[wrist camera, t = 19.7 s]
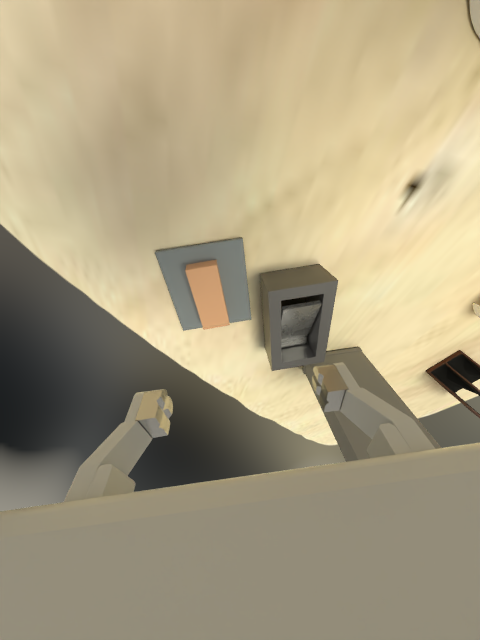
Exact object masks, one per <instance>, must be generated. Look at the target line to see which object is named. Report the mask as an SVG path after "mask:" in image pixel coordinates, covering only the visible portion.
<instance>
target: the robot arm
mask: <svg viewBox="0 0 480 640" xmlns="http://www.w3.org/2000/svg"><path fill="white" fill-rule="evenodd" d="M469 1H470V14H471V20H472V24H473V27H474V30H475V32H476V34H477V35H478V37H479V38H480V0H469ZM313 372H314V375H313V376H312V383H313V387H314V390H315V393H316V394H317V395H319V396H320V397H319V402H320V404H321V407H322V409H323V411H324V412H331V411H339V410H340V412H342V413H343V414H344V415H345V416H346V417H347V418H348V419H349V420H351V421H352V422H353V423H354V424H355V425H356V426H357V427H359V428H360V429H361V430H362V431H363V432H364V433H365V434H366V435H368V436H369V437H370V438H371V439H372V441H371V442H370V444H369V446H368V448H367V452H368V454H369V456H370V458H369V459H362V460H355V461H348V462H341V463H334V464H327V465H320V466H313V467H307V468H299V469H293V470H285V471H278V472H272V473H264V474H257V475H251V476H243V477H236V478H229V479H222V480H216V481H208V482H202V483H194V484H188V485H181V486H174V487H167V488H160V489H153V490H147V491H139V492H133V491H134V487H135V482H134V481H133V480H132V479H130V478H129V477H128V476H127V475H128V474H129V473H130V471H131V470H132V468H133V467H134V465H135V464H136V462H137V461H138V459H139V458H140V456H141V455H142V453H143V452H144V450H145V449H146V447H147V446H148V445H149V443H150V442H151V440H152V438H154V437H160V436H166V435H168V432H169V426H170V421H169V420H168V419H169V417H170V416H171V415H172V410H173V405H172V400H171V398H170V397H168V396H167V391H166V390H165V389H163V390H155V391H147V392H140V393H136V394H135V395H134V397H133V400H132V403H131V406H130V408H129V411H128V414H127V417H126V419H125V422H124V423H121V424H120V425H119V426H118V428H117V429H115V431H114V432H113V433H112V434H111V435H110V436H109V437H108V438H107V439H106V440H105V441H104V442H103V443H102V444H101V445H100V446H99V447H98V449H96V450H95V452H94V453H93V454H92V455H91V456H90V457H89V458H88V459H87V460H86V461H85V462H84V463H83V464H82V465H81V466H80V467H79V470H78V472H77V474H76V476H75V479H74V480H73V483H72V485H71V487H70V489H69V491H68V493H67V496H66V498H65V500H64V502H62V503H56V504H48V505H41V506H34V507H28V508H21V509H15V510H7V511H0V640H480V443H474V444H467V445H460V446H453V447H447V448H439V449H435V447H434V446H433V445H432V443H431V442H430V441H429V440H428V438H427V437H426V436H425V434H424V433H423V432H422V430H421V429H420V428H419V426H418V425H417V424H416V422H415V421H414V420H413V419H412V418H411V417H409V416H407V415H406V414H404V413H403V412H401V411H399V410H398V409H396V408H395V407H393V406H391V405H390V404H388V403H387V402H385V401H383V400H382V399H380V398H379V397H377V396H376V395H374V394H372V393H371V392H369V391H368V390H366V389H364V388H360V387H359V386H358V384H357V382H356V381H355V379H354V378H353V376H352V375H351V373H350V371H349V370H348V368H347V367H346V365H345V364H344V363H343V362H341V363H334V364H326V365H320V366H315V367H314V368H313Z"/></svg>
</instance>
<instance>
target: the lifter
mask: <svg viewBox="0 0 480 640" xmlns="http://www.w3.org/2000/svg"><path fill="white" fill-rule="evenodd" d="M320 306H321V302H320V300H318V301H312V302H306V303H300V304H294V305H288V306H282V310H281V342H282V343H281V348H284V347H290V346H296V345H302V344H307V343H308V342H307V339H305V338H307V336H308V334H309V331H310V329H311V327H312V324H313V322H314V320H315V318H316V315H317V313H318V311H319V309H320ZM299 339H300V340H299ZM293 340H294V341H293ZM287 341H288V342H287Z"/></svg>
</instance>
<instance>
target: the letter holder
mask: <svg viewBox="0 0 480 640" xmlns="http://www.w3.org/2000/svg"><path fill="white" fill-rule="evenodd" d="M426 372H427V373H428V374H429V375H430V376H431V377H432V378H434V379H435V380H436V381H437V382H438V383H439V384H440V385H441V386H443V387H444V388H445V389H446V390H447V391H448V392H449V393H450V394H452V395H453V396H454V397H455V398H456V399H458V400H459V401H460V402H461V403H462V404H464V406H466V407H467V408H468V409H469V410H470V411H471V412H473V413H474V414H475V415H476V416H478V417H479V418H480V414H479V413H478V412H476V411H475V410H474V409H473V408H472V407H471V406H469V405H468V404H467V403H466V402H465V401H464V400H463V399H461V398H460V397H459V396H458V395H457V394H456V393H455V392H457V391H458V390H460V389H462V388H464V389H466V390H469V391H471V392H474V393H476V394H478V395H479V396H480V390H479V389H478V388H477V387H475V386H474V385H473V384H471V383H473V382H475V381H477V380H479V379H480V365H479V364H477V363H476V362H475V361H473V360H472V359H471V358H470V357H468V356H467V355H466V354H464V353H463V352H462V351H460V350H459V351H457V352H456V353H454V354H452V355H451V356H449V357H447V358H446V359H444V360H442V361H441V362H439V363H437V364H436V365H434V366H432V367H431V368H429V369H428V370H426Z"/></svg>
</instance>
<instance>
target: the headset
mask: <svg viewBox="0 0 480 640" xmlns="http://www.w3.org/2000/svg"><path fill="white" fill-rule="evenodd" d="M472 304H473V309H474V312H475V314H476V315H477V316H478V317H479V318H480V306H479V305H478V304H476V303H472Z"/></svg>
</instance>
